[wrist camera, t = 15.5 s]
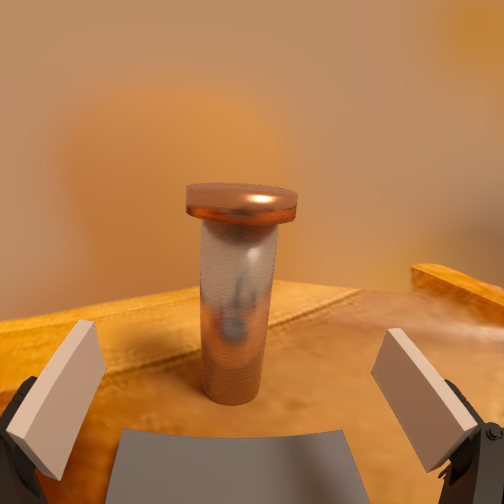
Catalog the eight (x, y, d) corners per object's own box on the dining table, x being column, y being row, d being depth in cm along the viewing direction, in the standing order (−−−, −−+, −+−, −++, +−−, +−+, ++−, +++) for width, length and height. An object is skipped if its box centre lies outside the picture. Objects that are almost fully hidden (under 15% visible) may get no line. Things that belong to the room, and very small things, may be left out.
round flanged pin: (265, 360, 27) (285, 186, 21) (276, 413, 20) (311, 201, 15) (194, 358, 26) (193, 181, 21) (187, 412, 19) (177, 193, 14)
